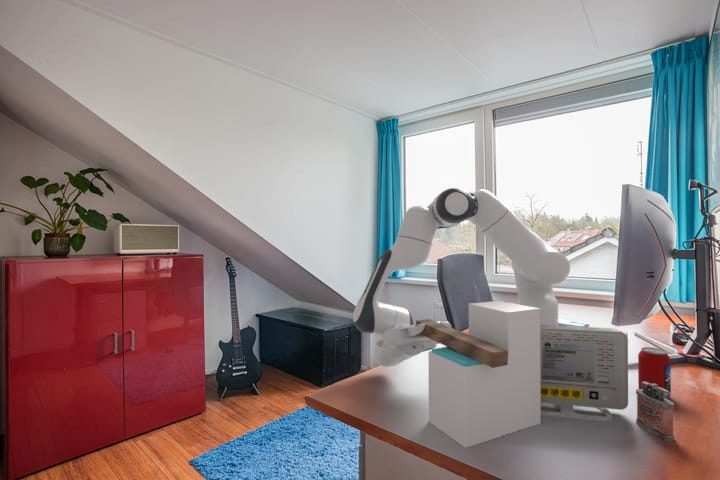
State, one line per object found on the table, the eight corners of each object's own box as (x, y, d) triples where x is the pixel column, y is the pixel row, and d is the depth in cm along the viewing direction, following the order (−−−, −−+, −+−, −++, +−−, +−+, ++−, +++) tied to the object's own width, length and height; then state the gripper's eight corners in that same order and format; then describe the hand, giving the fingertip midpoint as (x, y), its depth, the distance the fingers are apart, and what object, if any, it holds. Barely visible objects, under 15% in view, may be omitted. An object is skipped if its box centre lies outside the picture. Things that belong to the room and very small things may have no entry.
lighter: (631, 422, 84) (631, 378, 84) (645, 421, 84) (645, 377, 84) (664, 441, 76) (663, 392, 76) (679, 440, 76) (679, 392, 76)
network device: (616, 406, 91) (616, 326, 91) (634, 423, 83) (633, 335, 83) (507, 397, 97) (506, 321, 97) (512, 412, 88) (512, 329, 89)
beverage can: (677, 401, 94) (676, 354, 94) (647, 399, 95) (646, 353, 95) (661, 391, 101) (660, 347, 101) (633, 389, 102) (633, 346, 102)
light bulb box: (590, 352, 135) (590, 323, 135) (583, 356, 131) (583, 326, 131) (559, 346, 144) (559, 318, 144) (552, 349, 139) (552, 321, 139)
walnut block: (415, 332, 95) (416, 320, 95) (428, 330, 97) (428, 319, 97) (492, 367, 72) (493, 352, 72) (507, 364, 74) (508, 350, 74)
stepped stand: (428, 421, 84) (428, 307, 84) (499, 402, 94) (498, 300, 94) (465, 448, 73) (464, 317, 73) (540, 423, 83) (540, 308, 83)
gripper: (370, 334, 100) (393, 317, 89) (431, 326, 109) (459, 310, 98) (376, 357, 97) (400, 342, 86) (438, 347, 106) (467, 333, 95)
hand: (432, 325), depth 92 cm, fingers closed on walnut block, 4 cm apart
